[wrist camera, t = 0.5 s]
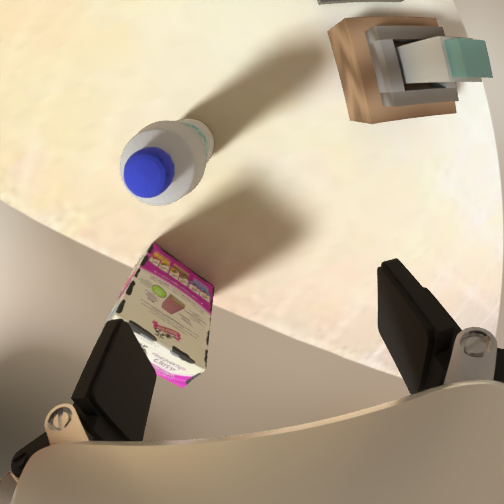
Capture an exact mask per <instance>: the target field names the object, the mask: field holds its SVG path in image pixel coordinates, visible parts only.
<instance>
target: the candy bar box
mask: <svg viewBox="0 0 504 504" xmlns="http://www.w3.org/2000/svg"><path fill="white" fill-rule="evenodd" d="M213 295H214V286H213V285H212V284H210V283H209V282H207V281H206V280H204V279H203V278H201V277H200V276H199V275H197V274H196V273H194V272H193V271H192V270H190V269H189V268H187V267H186V266H184V265H183V264H182V263H180V262H179V261H178V260H176V259H175V258H174V257H172V256H171V255H170V254H168V253H167V252H165V251H164V250H163V249H161V248H160V247H159V246H157V245H156V244H155V243H152V244H151V245H150V247H149V248H148V249H147V251H146V252H145V253H144V254H143V256H142V257H141V258H140V260H139V261H138V262H137V264H136V265H135V267H134V269H133V271H132V273H131V275H130V276H129V278H128V280H127V282H126V284H125V286H124V288H123V289H122V291H121V293H120V295H119V297H118V299H117V301H116V303H115V305H114V307H113V309H112V311H111V313H110V315H109V317H108V319H107V321H109V320H114V319H120V318H121V319H123V320H124V321H126V322H128V323H129V325H130V327H131V329H132V330H133V332H134V334H135V336H136V338H137V340H138V341H139V343H140V345H141V347H142V348H143V350H144V352H145V354H146V355H147V357H148V359H149V360H150V362H151V364H152V366H153V367H154V369H155V371H156V375H158V376H160V377H161V378H163V379H165V380H167V381H169V382H171V383H172V384H174V385H176V386H178V387H180V388H183V387H185V386H186V385H187V384H188V383H189V382H190V381H191V380H192V379H194V378H195V377H197V376H198V375H199V374H200V373H202V372H203V371H204V370H205V369H206V363H207V353H208V341H209V332H210V321H211V311H212V303H213ZM107 321H106V322H107ZM105 324H106V323H105ZM104 326H105V325H104ZM103 328H104V327H103ZM102 330H103V329H102ZM101 332H102V331H101ZM100 334H101V333H100ZM99 336H100V335H99ZM98 338H99V337H98Z"/></svg>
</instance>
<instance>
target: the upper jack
mask: <svg viewBox="0 0 504 504" xmlns="http://www.w3.org/2000/svg"><path fill="white" fill-rule="evenodd" d="M328 35H329V38H330V42H331V45H332V49H333V52H334V56H335V60H336V63H337V67H338V71H339V75H340V79H341V83H342V87H343V91H344V95H345V100H346V104H347V108H348V113H349V118H350V120H351V121H357V122H363V123H369V124H375V123H381V122H387V121H394V120H401V119H408V118H416V117H424V116H433V115H442V114H452V113H456V106H455V101H459V100H458V94H457V88H456V83H455V82H427V83H406V84H403V79H402V75H401V70H400V66H399V62H398V58H397V54H396V50H395V47H399V46H402V45H406V44H410V43H413V42H417V41H421V40H425V39H429V38H433V37H437V36H445V35H444V31H443V28H442V27H438V24H437V21H436V18H423V17H357V18H345V19H343V20H342V21H341V22H339V23H338V24H337V25H335V26H334V27H333V28H332V29H330V30H329V31H328Z"/></svg>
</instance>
